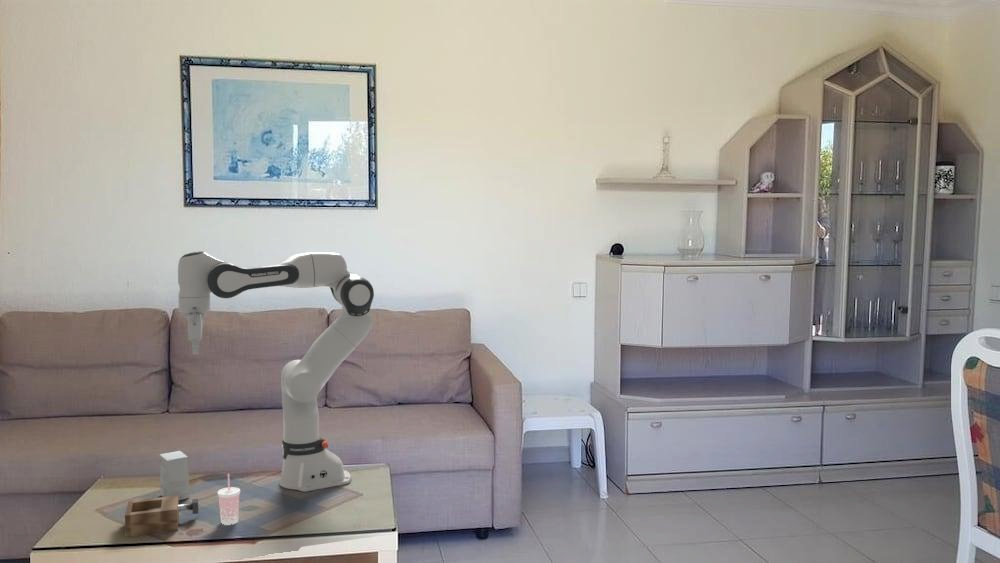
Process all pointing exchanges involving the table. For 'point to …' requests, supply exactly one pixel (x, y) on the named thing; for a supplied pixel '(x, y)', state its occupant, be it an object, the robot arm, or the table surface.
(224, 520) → the beverage cup
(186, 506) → the lock pin
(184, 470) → the small box
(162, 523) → the socket block
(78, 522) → the table surface
